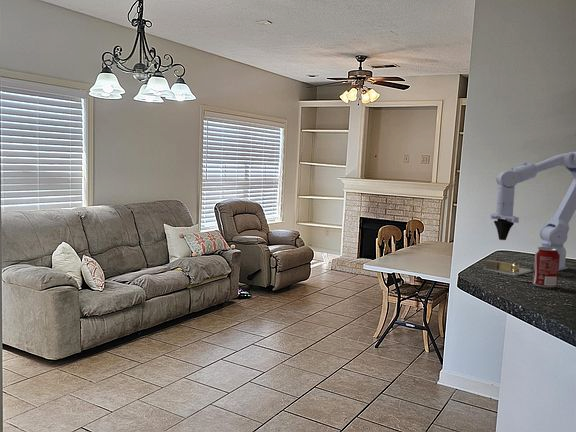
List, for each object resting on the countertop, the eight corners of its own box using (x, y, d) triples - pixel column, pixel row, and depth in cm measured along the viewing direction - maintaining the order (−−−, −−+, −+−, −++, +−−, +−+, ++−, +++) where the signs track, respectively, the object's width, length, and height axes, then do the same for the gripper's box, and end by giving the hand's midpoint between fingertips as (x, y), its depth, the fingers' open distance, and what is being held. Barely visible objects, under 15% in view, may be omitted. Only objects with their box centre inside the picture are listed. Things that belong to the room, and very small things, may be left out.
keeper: (491, 267, 185) (491, 260, 184) (510, 270, 179) (510, 263, 179) (485, 268, 182) (486, 261, 182) (504, 271, 177) (505, 264, 177)
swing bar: (520, 271, 176) (520, 262, 176) (517, 272, 175) (518, 263, 174) (488, 266, 184) (489, 258, 184) (485, 266, 183) (486, 258, 183)
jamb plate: (500, 265, 191) (500, 263, 191) (532, 271, 182) (533, 269, 182) (482, 269, 183) (483, 267, 183) (516, 275, 174) (516, 273, 174)
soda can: (559, 290, 155) (563, 250, 153) (536, 288, 156) (539, 249, 155) (553, 285, 161) (556, 247, 160) (530, 283, 162) (533, 246, 161)
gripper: (484, 201, 195) (481, 237, 197) (507, 204, 181) (504, 242, 182) (501, 202, 197) (498, 237, 198) (525, 205, 182) (522, 242, 184)
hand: (502, 239), depth 190 cm, fingers closed
